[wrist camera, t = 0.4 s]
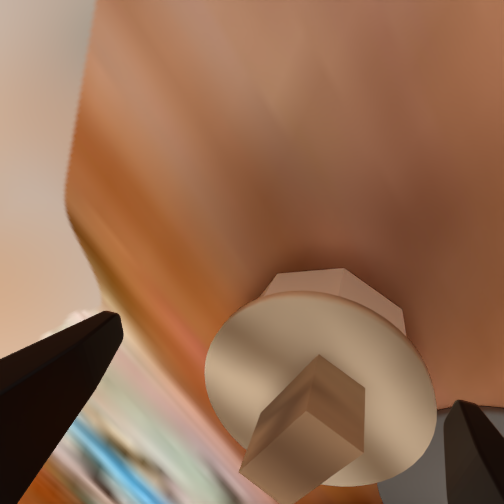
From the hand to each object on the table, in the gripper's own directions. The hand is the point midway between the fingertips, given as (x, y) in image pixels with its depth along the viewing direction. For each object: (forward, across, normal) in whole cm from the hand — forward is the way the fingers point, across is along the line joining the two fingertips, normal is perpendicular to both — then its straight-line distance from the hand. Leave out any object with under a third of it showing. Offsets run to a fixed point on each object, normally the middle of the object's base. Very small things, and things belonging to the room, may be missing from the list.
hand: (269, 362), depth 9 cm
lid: (+8, -2, +10) cm, 13 cm away
